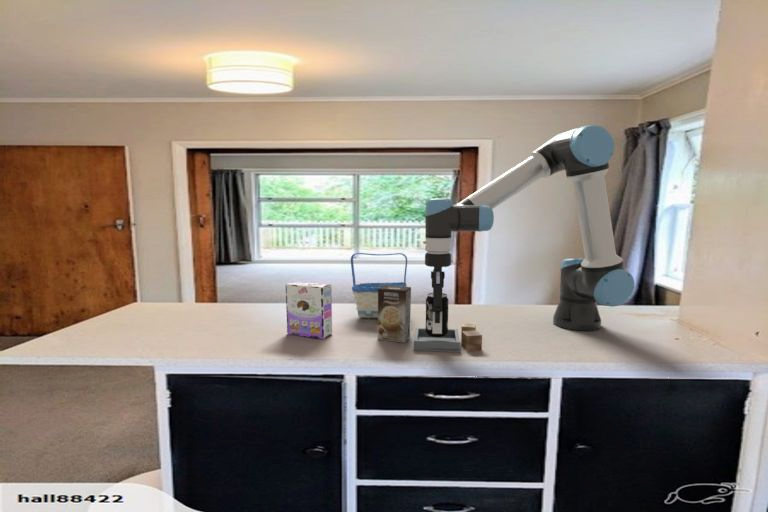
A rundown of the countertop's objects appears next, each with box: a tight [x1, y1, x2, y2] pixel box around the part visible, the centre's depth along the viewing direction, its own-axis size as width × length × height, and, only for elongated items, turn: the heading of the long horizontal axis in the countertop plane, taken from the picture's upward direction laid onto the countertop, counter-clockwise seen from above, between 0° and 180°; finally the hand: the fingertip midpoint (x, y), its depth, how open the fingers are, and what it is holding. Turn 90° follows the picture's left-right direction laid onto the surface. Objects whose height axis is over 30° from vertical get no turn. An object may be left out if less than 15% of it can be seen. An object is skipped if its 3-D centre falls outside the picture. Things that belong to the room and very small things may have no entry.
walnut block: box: [460, 330, 483, 352], centre depth 128 cm, size 4×4×4 cm
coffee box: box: [376, 285, 412, 343], centre depth 136 cm, size 9×6×16 cm
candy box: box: [285, 280, 333, 340], centre depth 140 cm, size 14×6×16 cm, turn 65°
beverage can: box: [425, 292, 449, 337], centre depth 130 cm, size 7×7×12 cm
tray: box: [413, 327, 461, 353], centre depth 131 cm, size 13×13×3 cm
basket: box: [350, 252, 408, 319], centre depth 162 cm, size 21×16×24 cm
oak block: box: [460, 322, 477, 340], centre depth 138 cm, size 4×4×4 cm
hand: (436, 329), depth 131 cm, fingers closed on beverage can, 6 cm apart
